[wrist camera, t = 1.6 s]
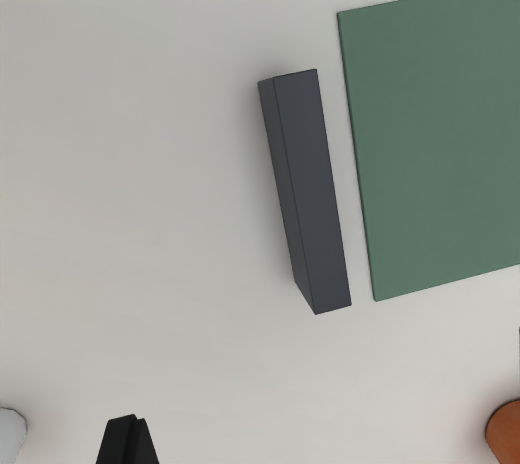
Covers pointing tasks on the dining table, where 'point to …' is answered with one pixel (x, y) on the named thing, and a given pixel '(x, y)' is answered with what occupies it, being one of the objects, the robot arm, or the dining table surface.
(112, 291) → the dining table surface
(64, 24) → the dining table surface
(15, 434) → the milkshake
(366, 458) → the dining table surface
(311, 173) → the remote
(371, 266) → the placemat
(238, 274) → the dining table surface
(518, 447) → the toy tea set
